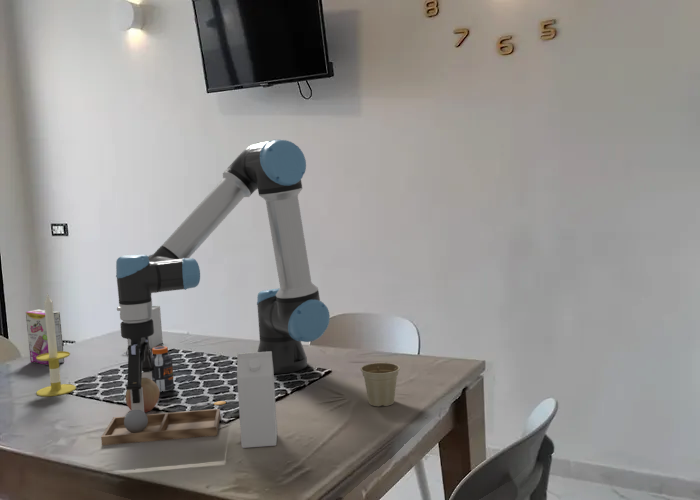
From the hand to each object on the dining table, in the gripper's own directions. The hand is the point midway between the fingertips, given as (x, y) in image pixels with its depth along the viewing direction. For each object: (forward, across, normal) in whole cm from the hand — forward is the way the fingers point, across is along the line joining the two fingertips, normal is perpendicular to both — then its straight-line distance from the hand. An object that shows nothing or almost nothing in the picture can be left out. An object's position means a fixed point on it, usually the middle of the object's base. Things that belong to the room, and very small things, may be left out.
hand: (143, 406), depth 170 cm
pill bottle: (+2, -18, +2) cm, 18 cm away
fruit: (+2, 0, 0) cm, 2 cm away
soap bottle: (+2, -71, -11) cm, 72 cm away
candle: (+2, -24, -27) cm, 36 cm away
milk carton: (+2, +26, +28) cm, 38 cm away
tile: (+1, 0, +16) cm, 16 cm away
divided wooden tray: (+1, +16, +7) cm, 18 cm away
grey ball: (+1, +16, +1) cm, 16 cm away
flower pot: (+1, +8, +57) cm, 58 cm away
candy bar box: (+2, -57, -39) cm, 69 cm away
